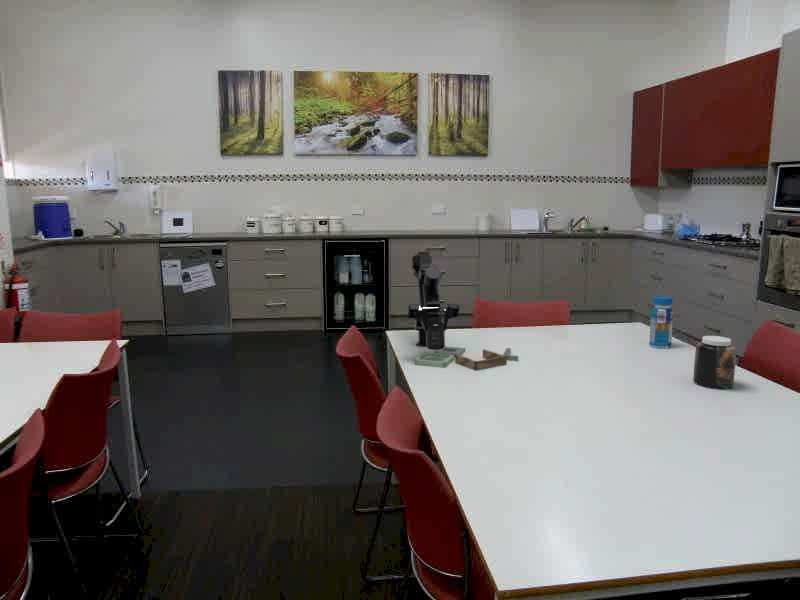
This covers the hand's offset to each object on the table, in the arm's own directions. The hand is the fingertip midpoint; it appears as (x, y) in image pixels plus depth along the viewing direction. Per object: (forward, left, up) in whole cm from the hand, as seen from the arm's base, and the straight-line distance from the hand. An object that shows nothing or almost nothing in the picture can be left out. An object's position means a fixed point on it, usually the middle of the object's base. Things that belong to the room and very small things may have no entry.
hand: (435, 330), depth 232 cm
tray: (-1, -1, -12) cm, 12 cm away
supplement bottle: (-1, 0, -7) cm, 7 cm away
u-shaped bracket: (-5, +15, -12) cm, 20 cm away
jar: (-6, +92, -12) cm, 93 cm away
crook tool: (-18, +24, -12) cm, 33 cm away
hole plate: (-15, +1, -12) cm, 19 cm away
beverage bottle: (-53, +77, -12) cm, 94 cm away
